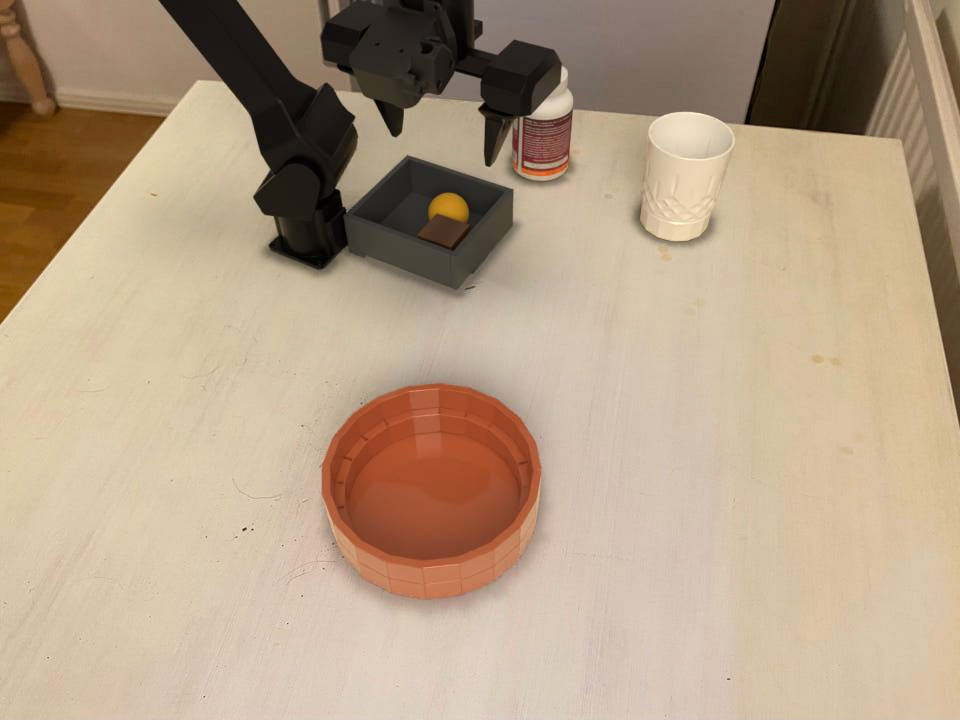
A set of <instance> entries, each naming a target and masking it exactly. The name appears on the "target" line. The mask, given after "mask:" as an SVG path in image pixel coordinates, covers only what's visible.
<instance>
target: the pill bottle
mask: <svg viewBox="0 0 960 720" xmlns="http://www.w3.org/2000/svg"><path fill="white" fill-rule="evenodd" d="M568 84H569V72H568V69H567V68H566V67H565V66H564V65H562V70H561V83H560V84H559V85H558V87H557V88H556V89H555V90H554V91H553V92H552V93H551V94H550V95H549V96H548V97H547V98H546V100H545V101H544V102H543V103H542V104H541V105H540V106H539V107H538V108H537V109H536V110H535V111H534V112H533V114H532V115H530V116H524V117H518V118H517V119H515V120H514V122H513V124H512V126H511V128H512V131H511V133H512V135H511V140H512V141H511V165H512V168H513V170H514V171H515V173H517V174H518V175H519V176H521V177H522V178H525V179H527V180H532V181H536V182H540V181H541V182H546V181H547V182H548V181H552V180H555V179H557V178H559V177H561V176H562V175H564V174H565V172H566V171H568V167H569V163H570V162H569V161H570V149H571V140H572V139H571V138H572V126H573V115H574V96H573V94H572V92H571V90H570V89H569V88H568Z"/></svg>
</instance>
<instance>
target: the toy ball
mask: <svg viewBox="0 0 960 720" xmlns="http://www.w3.org/2000/svg"><path fill="white" fill-rule="evenodd" d="M436 214H440V215H443V216H446V217H449V218H452V219H455V220H458V221H460V222H463V223H466V224H467V222H468V219H469V209H468V206H467V203H466V202H465V200H464V199H463V198H462V197H460V196H459V195H457V194H454V193H443V194H440V195H438V196H437V197H435V198H434V199H433V200H432V202H431V204H430V206H429V209H428V217H429V221H430V220H431V219H432V218H433V217H434V216H435V215H436Z"/></svg>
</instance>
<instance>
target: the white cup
mask: <svg viewBox="0 0 960 720" xmlns="http://www.w3.org/2000/svg"><path fill="white" fill-rule="evenodd" d="M647 129H648V130H647V139H646V147H645V156H644V165H643V174H642V180H641V182H642V183H641V206H640V207H641V210H640V218H639V222H640V223H641V224H642V226H643V227H644V230H645V231H646V232H648V233H649V234H652V235H653V236H654V237H656V238H659V239H662V240H666V241H670V242H689V241H691V240H694V239H696V238H699V237H701V235H702V234H703V233H704V232H705V231H706V230H707V228H708V226H709V222H710V219H711V215H712V212H713V210H714V208H715V205H716V204H717V200H718V197H719V194H720V191H721V189H722V186H723V182H724V180H725V176H726V173H727V170H728V166H729V163H730V161H731V157H732V153H733V150H734V147H735V145H736V136H735V133H734V131H733V130H732V129H731V127H730V126H729V125H728V124H727V123H725V122H724V121H722V120H720V119H718V118H716V117H714V116H712V115H709V114H706V113H701V112H700V113H699V112H695V111H676V112H670V113H666V114H664V115H661V116H659V117H657V118H656V119H654V120H653V121H652V122H651V123H650V125H649V127H648V128H647Z"/></svg>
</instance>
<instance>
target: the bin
mask: <svg viewBox="0 0 960 720" xmlns="http://www.w3.org/2000/svg"><path fill="white" fill-rule="evenodd" d="M443 193H454V194H457V195H459V196H460V197H462V198H463V199H464V200H465V202H466V203H467V206H468V209H469V219H468V222H467V224H469V225H470V233H469V234H468V235H467V236H466V237H465V238H464V240H463V241H462V242H461V243H460V244H459V245H458V246H457V248H456V249H455V250H454V251H451V250H449V249H446V248H443V247H440V246H438V245H435V244H432V243H429V242H427V241H424V240H421V239H418V238H417V235H418V234H419V232H420V231H421V230H422V229H423V228H424V227H425V226H426V225H427V224H428V222H429V217H428V209H429V206H430V204H431V202H432V200H433V199H434V198H435V197H437V196H438V195H440V194H443ZM343 217H344V223H345V229H346V235H347V241H348V245H347V247H348V252H349V253H351V254H353V255H356V256H359V257H361V258H363V259H364V258H366V257H369V258H372V259H374V260H377V261H380V262H382V263H385V264H387V265H390V266H393V267H395V268H398V269H401V270H403V271H405V272H409V273H411V274H414V275H416V276H419V277H422V278H424V279H427V280H429V281H432V282H435V283H436V284H440V285H442V286H444V287H445V286H446V287H447V288H450V289H453V290H455V291H457V290H458V289H459V288H461V286H462V285H463V284H464V282H465V281H466V280H467V279H468V277H470V275H471V274H472V275H474V273H476V271H477V270H478V269H479V267H480V266H481V265H482V264H483V262H484V261H485V260H486V259H487V258H488V256H489V255H490V254H491V253H492V252H493V250H494V249H495V248H496V247H497V246H498V244H499V243H500V242H501V241H502V239H504V237H505V236H506V234H508V232H509V231H510V230H511V229H512V227H514V225H513V224H514V223H513V221H514V189H513V188H510V187H507V186H505V185H501V184H498V183H496V182H492V181H489V180H486V179H483V178H481V177H477V176H473V175H471V174H468V173H465V172H461V171H459V170H455V169H453V168H449V167H446V166H444V165H439V164H438V163H437V164H436V163H434V162H431V161H428V160H425V159H422V158H418V157H415V156H412V155H409V154H407V155H405V156H404V157H403V158H402V159H401V160H400V161H399V162H397V164H396V165H395V166H393V168H392V169H391V170H389V172H388V173H386V174H385V175H384V176H383V177H382V178H381V179H380V180H379V181H378V182H377V183H376V184H375V185H374V186H373V187H371V189H370V190H369V191H368V192H366V193H365V194H364V195H363V196H362V197H361V198H360V199H359V200H358V201H357V202H356V203H355V204H354V205H353V206H351V208H349V210H348V211H347V213H346V214H345V215H344V216H343Z"/></svg>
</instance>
